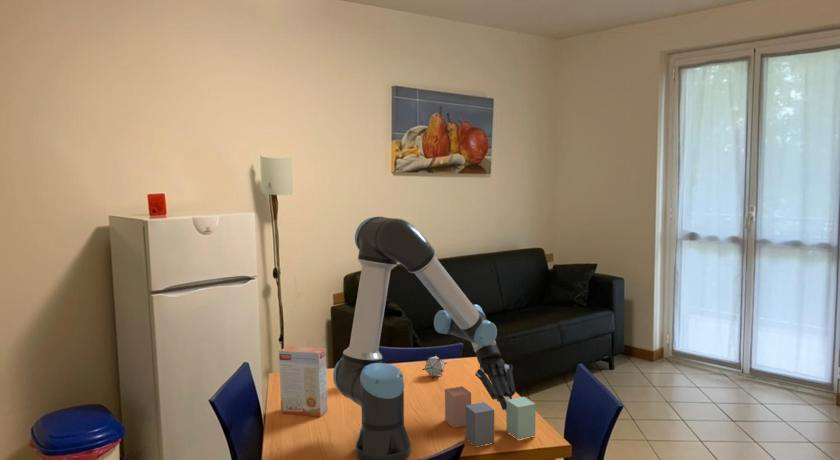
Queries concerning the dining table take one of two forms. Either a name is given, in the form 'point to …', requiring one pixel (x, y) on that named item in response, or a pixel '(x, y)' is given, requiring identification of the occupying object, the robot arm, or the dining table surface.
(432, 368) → the game die
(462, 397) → the pink block
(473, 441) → the slate blue block
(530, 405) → the sage block
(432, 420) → the dining table surface
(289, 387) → the cracker box
